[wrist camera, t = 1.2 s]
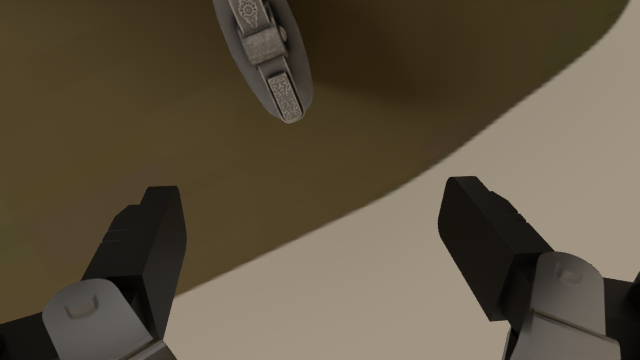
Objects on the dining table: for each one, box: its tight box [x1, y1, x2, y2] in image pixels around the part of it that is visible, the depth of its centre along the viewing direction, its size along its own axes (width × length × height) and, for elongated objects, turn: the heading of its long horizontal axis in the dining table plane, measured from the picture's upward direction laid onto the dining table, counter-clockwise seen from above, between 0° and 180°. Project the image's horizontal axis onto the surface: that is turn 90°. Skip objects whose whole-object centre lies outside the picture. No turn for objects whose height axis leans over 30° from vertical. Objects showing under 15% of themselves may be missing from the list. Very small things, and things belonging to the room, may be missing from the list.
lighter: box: [212, 0, 314, 123], centre depth 21 cm, size 8×3×10 cm, turn 19°
